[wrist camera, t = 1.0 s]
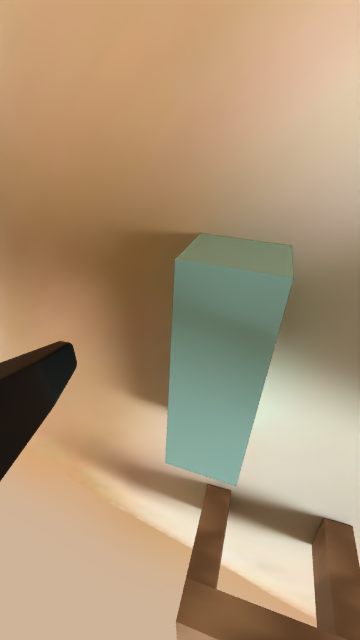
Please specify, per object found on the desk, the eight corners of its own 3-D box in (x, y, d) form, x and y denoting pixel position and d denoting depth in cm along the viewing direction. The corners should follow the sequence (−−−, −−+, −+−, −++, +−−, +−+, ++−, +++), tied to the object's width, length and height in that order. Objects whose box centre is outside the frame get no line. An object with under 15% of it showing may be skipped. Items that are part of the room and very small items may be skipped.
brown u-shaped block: (352, 526, 20) (384, 711, 14) (337, 553, 22) (359, 725, 16) (207, 484, 23) (175, 621, 16) (206, 511, 25) (177, 643, 18)
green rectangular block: (291, 244, 13) (293, 278, 9) (244, 427, 19) (235, 486, 16) (201, 231, 14) (174, 259, 10) (185, 410, 20) (165, 462, 17)
